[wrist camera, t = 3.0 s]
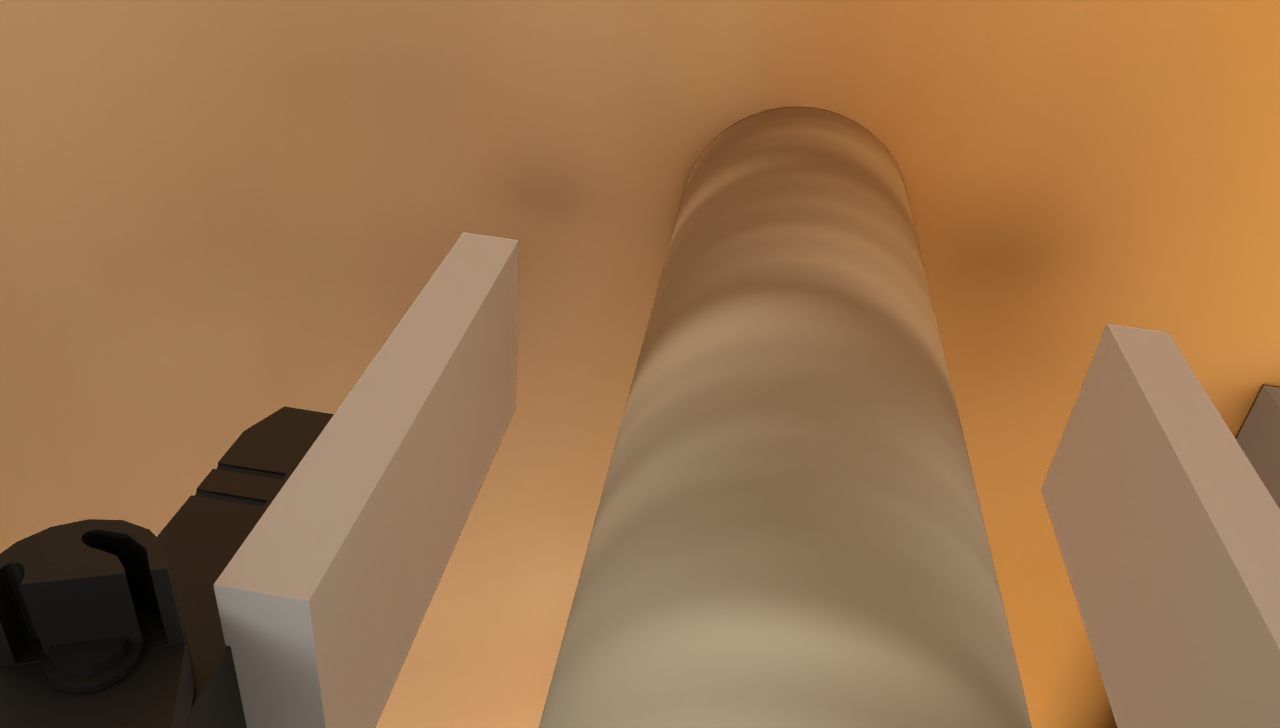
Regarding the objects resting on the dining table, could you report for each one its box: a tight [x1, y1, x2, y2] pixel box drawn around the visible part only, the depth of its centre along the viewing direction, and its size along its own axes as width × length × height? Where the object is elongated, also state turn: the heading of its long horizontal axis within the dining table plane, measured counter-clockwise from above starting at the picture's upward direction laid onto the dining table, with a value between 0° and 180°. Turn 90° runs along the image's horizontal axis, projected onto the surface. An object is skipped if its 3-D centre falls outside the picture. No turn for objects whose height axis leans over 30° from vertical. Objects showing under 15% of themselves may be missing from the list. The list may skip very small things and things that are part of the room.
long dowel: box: [539, 107, 1032, 728], centre depth 12 cm, size 4×4×14 cm
